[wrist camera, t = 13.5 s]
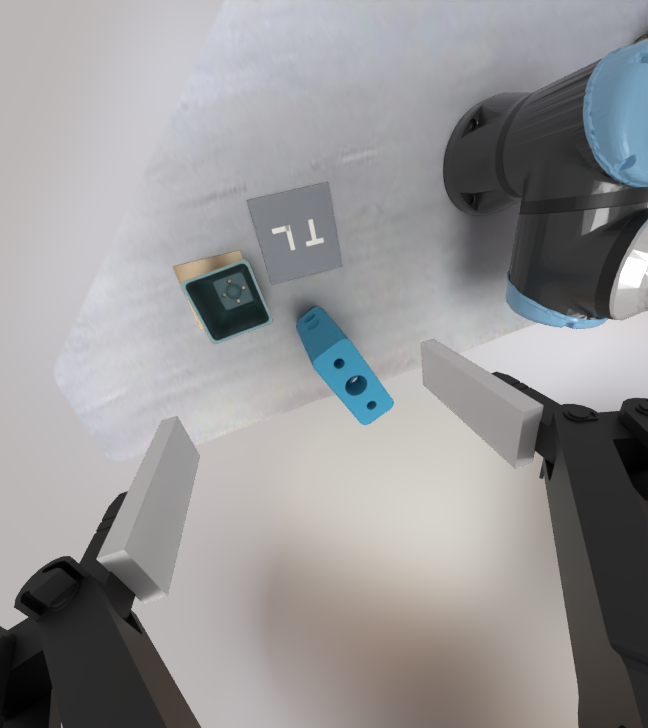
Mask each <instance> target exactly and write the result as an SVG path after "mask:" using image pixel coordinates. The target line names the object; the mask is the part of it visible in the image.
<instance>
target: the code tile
mask: <svg viewBox="0 0 648 728" xmlns="http://www.w3.org/2000/svg"><path fill="white" fill-rule="evenodd" d="M247 203H248V206H249V209H250V213H251V216H252V220H253V223H254V226H255V230H256V233H257V237H258V240H259V244H260V247H261V250H262V254H263V257H264V261H265V264H266V267H267V271H268V274H269V278H270V281H271V284H272V285H273V284H277V283H281V282H285V281H289V280H292V279H296V278H300V277H304V276H308V275H312V274H315V273H319V272H323V271H327V270H331V269H335V268H338V267H342V260H341V254H340V248H339V243H338V237H337V231H336V225H335V219H334V213H333V208H332V202H331V196H330V190H329V184H328V182H325V183H321V184H317V185H312V186H308V187H303V188H299V189H294V190H290V191H286V192H281V193H277V194H272V195H268V196H264V197H259V198H255V199H250V200H247Z"/></svg>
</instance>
